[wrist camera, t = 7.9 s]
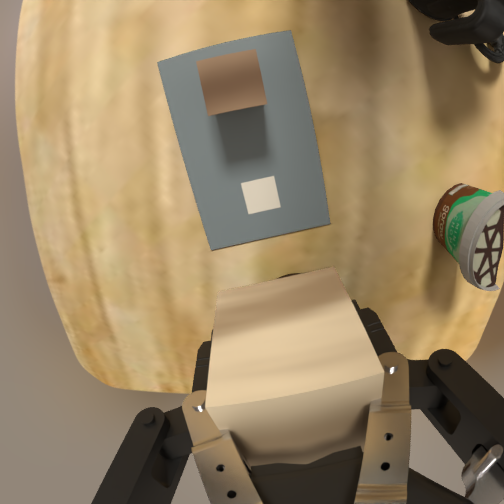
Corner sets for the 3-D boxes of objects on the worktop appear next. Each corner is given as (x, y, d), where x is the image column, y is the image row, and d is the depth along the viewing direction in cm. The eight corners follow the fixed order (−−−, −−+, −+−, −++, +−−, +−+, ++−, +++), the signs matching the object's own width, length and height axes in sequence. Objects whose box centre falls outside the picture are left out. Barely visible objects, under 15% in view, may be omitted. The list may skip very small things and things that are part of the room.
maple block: (217, 291, 13) (205, 407, 8) (334, 266, 13) (384, 371, 8) (245, 369, 15) (247, 472, 10) (341, 349, 15) (373, 448, 10)
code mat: (157, 62, 27) (157, 62, 27) (290, 30, 26) (290, 30, 26) (211, 249, 37) (211, 250, 36) (329, 223, 35) (330, 223, 35)
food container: (424, 178, 33) (472, 205, 24) (461, 172, 33) (511, 195, 24) (425, 266, 38) (462, 307, 29) (458, 255, 38) (498, 292, 29)
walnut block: (205, 69, 28) (196, 61, 22) (254, 59, 27) (255, 48, 22) (215, 114, 30) (208, 116, 24) (263, 105, 29) (267, 104, 24)
